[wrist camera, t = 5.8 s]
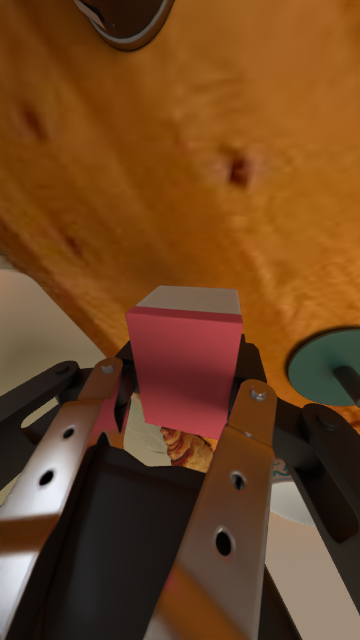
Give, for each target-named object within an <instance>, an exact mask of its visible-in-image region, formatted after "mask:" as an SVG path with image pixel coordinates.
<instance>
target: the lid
mask: <svg viewBox="0 0 360 640" xmlns="http://www.w3.org/2000/svg"><path fill="white" fill-rule="evenodd" d="M288 378H289V380H290V383H291V385H292V386H293V388H294V389H295V390H296V391H297V392H298V393H299V394H300V395H302V396H303V397H305V398H307V399H309V400H311V401H314V402H317V403H320V404H325V405H332V406H351V405H356V406H357V407H358V408H360V329H343V330H337V331H333V332H329V333H326V334H323V335H320V336H318V337H316V338H314V339H312V340H310V341H308V342H307V343H305V344H304V345H303V346H301V347H300V348H299V349H298V350H297V351H296V352H295V354H294V355H293V356H292V358H291V360H290V362H289V365H288Z"/></svg>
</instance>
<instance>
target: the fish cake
mask: <svg viewBox="0 0 360 640" xmlns="http://www.w3.org/2000/svg"><path fill="white" fill-rule="evenodd" d="M126 320H127V326H128V331H129V336H130V342H131V347H132V353H133V358H134V364H135V369H136V374H137V380H138V385H139V391H140V396H141V402H142V407H143V412H144V418H145V422H146V423H149V424H154V425H158V426H162V427H166V428H170V429H175V430H179V431H183V432H187V433H191V434H195V435H200V436H204V437H208V438H212V439H216V440H219V438H220V435H221V433H222V430H223V428H224V425H225V424H226V421H227V415H228V408H229V402H230V396H231V391H232V385H233V379H234V375H235V369H236V363H237V357H238V352H239V346H240V340H241V334H242V328H243V321H242V316H241V311H240V305H239V299H238V294H237V290H236V289H221V288H201V287H181V286H161V285H160V286H158V287H157V288H156V289H155V290H154V291H152V292H151V293H150V294H149V295H147V296H146V297H145V298H144V299H142V300H141V301H140V302H139V303H138V304H136V305H135V306H134V307H133V308H131V309H130V310H129V311H128V312H126Z"/></svg>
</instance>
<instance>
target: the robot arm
mask: <svg viewBox="0 0 360 640" xmlns="http://www.w3.org/2000/svg"><path fill="white" fill-rule="evenodd" d="M74 2H75V3H76V5H77V6H78V8H79V9H80V10H81V11H82V12H84V13H85V14H86V15H87V16H88V18H89V20H90V21H91V23H92V24H93V26H94V27H95V29H96V30H97V32H98V33H99V34H100V36H101V37H102V38H103V39H104V40H105V41H106V42H107V43H109V44H110V45H112V46H113V47H115V48H118V49H121V50H133V49H137V48H139V47H141V46H143V45H144V44H146V43H147V42H148V41H150V40H151V39H152V38H153V37H154V35H155V34H156V33H157V32H158V30H159V29H160V27H161V26H162V24H163V23H164V21H165V19H166V17H167V15H168V13H169V11H170V8H171V6H172V3H173V0H74ZM261 362H262V361H261V357H260V354H259V350H258V349H257V348H256V346H255V345H254V344H251V343H246V342H245V336H244V334H241V340H240V346H239V352H238V357H237V363H236V369H235V375H234V379H233V385H232V391H231V396H230V402H229V408H228V412H231V413H230V416H229V419H228V422H227V424H225V425H224V428H223V430H222V433H221V435H220V438H219V441H218V444H217V446H216V449H215V452H214V454H213V457H212V460H211V463H210V465H209V468H208V471H207V473H204V472H201V471H198V470H194V469H191V468H187V467H184V466H180V465H179V466H153V467H150V466H146V465H144V464H143V463H142V462H140V461H139V460H138V459H136V458H134V457H133V456H132V455H131V454H129V453H128V452H127V451H125V450H124V445H123V441H124V434H125V429H126V424H127V419H128V415H129V410H130V405H131V396H132V394H133V392H136V393H140V391H139V385H138V380H137V374H136V369H135V364H134V358H133V353H132V347H131V342H130V340H129V341H128V342H127V344H126V345H125V346H124V347H123V348H122V349H121V350H120V351H119V352H118V354H117V355H116V356H115V357H111V358H106V359H104V360H102V361H100V362H99V363H97V364H96V365H95V367H94V368H84V369H80V368H79V365H78V363H77V362H75V361H64V362H61V363H58V364H56V365H54V366H53V367H51V368H49V369H47V370H46V371H44V372H42V373H40V374H39V375H37V376H35V377H33V378H32V379H30V380H29V381H27V382H25V383H23V384H21V385H19V386H18V387H16V388H14V389H12V390H11V391H9V392H7V393H6V394H4V395H2V396H0V491H1V490H2V489H3V488H4V487H5V486H6V485H7V484H8V483H9V482H11V481H12V480H13V479H14V478H15V477H16V476H17V475H18V474H20V473H21V474H20V476H19V478H18V479H17V481H16V482H15V484H14V486H13V487H12V489H11V491H10V492H9V494H8V496H7V497H6V499H5V501H4V502H3V504H2V505H1V506H0V640H302V638H301V636H300V634H299V632H298V630H297V628H296V626H295V624H294V622H293V620H292V618H291V615H290V614H289V611H288V609H287V607H286V605H285V603H284V601H283V599H282V597H281V595H280V593H279V591H278V589H277V587H276V585H275V583H274V581H273V579H272V577H271V575H270V573H269V571H268V569H267V567H266V565H265V554H266V543H267V532H268V521H269V511H270V501H271V490H272V479H273V469H274V458H275V456H276V457H278V458H280V459H281V460H283V461H284V462H285V465H286V467H287V469H288V471H289V473H290V475H291V477H292V479H293V481H294V483H295V485H296V487H297V489H298V491H299V493H300V495H301V497H302V499H303V501H304V503H305V505H306V507H307V509H308V511H309V513H310V515H311V517H312V519H313V521H314V523H315V525H316V527H317V529H318V531H319V533H320V536H321V538H322V540H323V541H324V544H325V546H326V548H327V550H328V552H329V554H330V556H331V558H332V560H333V562H334V564H335V566H336V568H337V570H338V572H339V574H340V576H341V578H342V580H343V582H344V584H345V586H346V588H347V590H348V592H349V594H350V596H351V598H352V600H353V602H354V604H355V606H356V608H357V610H358V612H359V615H360V435H359V434H358V433H357V431H356V430H355V429H354V428H353V427H352V426H351V425H350V424H349V423H348V422H347V421H346V420H345V419H344V418H343V417H342V416H341V415H340V414H338V413H337V412H336V411H334V410H332V409H331V408H328V407H326V406H324V405H321V404H316V403H310V404H306V405H305V406H304V407H303V409H302V408H300V407H297V406H295V405H293V404H290V403H288V402H286V401H284V400H282V399H280V398H279V397H277V395H276V393H275V391H274V390H273V389H272V387H270V386H269V385H268V384H267V380H266V376H265V372H264V369H263V365H262V363H261ZM54 397H55V398H56V400H57V402H58V405H56V406H55V407H54V408H52V409H51V410H50V411H48V412H47V413H46V414H44V415H43V416H42V417H40V418H39V419H37V420H36V421H35V422H34V423H32V424H31V425H29V426H28V427H25V428H21V424H22V422H23V420H24V419H25V418H26V417H27V416H28V415H30V414H31V413H33V412H34V411H35V410H37V409H38V408H40V407H41V406H43V405H44V404H45V403H47V402H48V401H50V400H51V399H52V398H54Z"/></svg>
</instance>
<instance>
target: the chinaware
mask: <svg viewBox="0 0 360 640" xmlns="http://www.w3.org/2000/svg"><path fill="white" fill-rule="evenodd" d="M270 510H271V511H272V512H274V513H276V514H277V515H279V516H281V517H284V518H286V519H288V520H291V521H294V522H297V523H300V524H304V525H309V526H314V527H316V525H315V523H314V521H313V519H312V517H311V515H310V513H309V511H308V509H307V507H306V505H305V503H304V501H303V499H302V497H301V495H300V493H299V491H298V489H297V487H296V485H295V483H294V481H293V479H292V477H291V475H290V473H289V471H288V469H287V467H286V465H285V462H284V461H283V460H281V459H280V458H278V457H276V456H275V458H274V469H273V479H272V490H271V501H270Z"/></svg>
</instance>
